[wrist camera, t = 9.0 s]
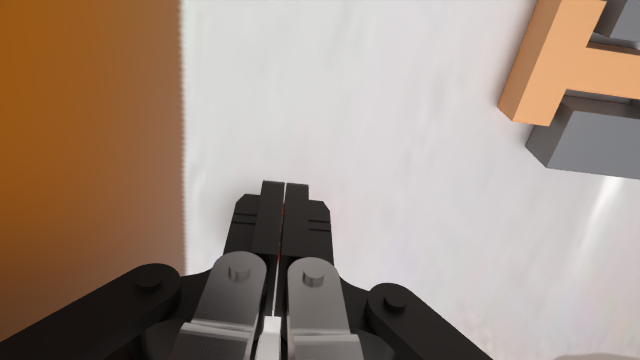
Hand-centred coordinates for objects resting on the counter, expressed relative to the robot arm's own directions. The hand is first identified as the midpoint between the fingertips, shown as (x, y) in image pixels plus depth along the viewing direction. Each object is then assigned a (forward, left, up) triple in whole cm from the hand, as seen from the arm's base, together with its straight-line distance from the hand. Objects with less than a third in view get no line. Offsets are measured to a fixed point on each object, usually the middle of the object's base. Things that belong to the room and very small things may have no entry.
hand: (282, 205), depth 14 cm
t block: (0, +28, -32) cm, 42 cm away
